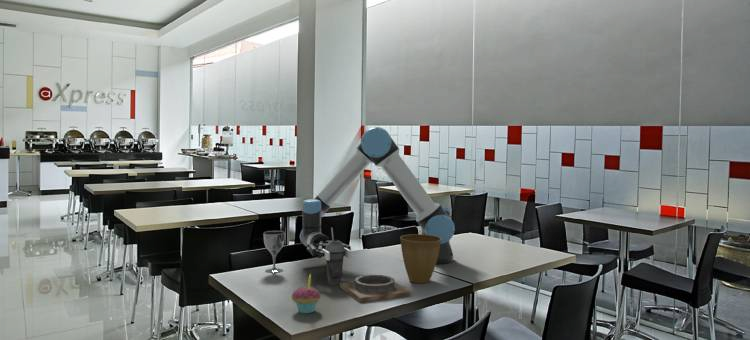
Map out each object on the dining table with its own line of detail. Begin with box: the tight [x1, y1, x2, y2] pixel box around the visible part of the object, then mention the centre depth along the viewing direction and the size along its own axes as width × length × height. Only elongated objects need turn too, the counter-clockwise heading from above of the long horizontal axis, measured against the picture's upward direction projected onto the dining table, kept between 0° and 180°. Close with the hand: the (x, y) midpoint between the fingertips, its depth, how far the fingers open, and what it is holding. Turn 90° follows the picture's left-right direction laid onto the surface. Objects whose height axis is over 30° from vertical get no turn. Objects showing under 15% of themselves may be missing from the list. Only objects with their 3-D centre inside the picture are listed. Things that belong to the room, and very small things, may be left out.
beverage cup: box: [325, 227, 345, 286], centre depth 186 cm, size 7×7×20 cm
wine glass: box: [263, 230, 286, 274], centre depth 203 cm, size 8×8×15 cm
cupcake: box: [291, 272, 321, 314], centre depth 156 cm, size 9×8×12 cm
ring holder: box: [339, 274, 411, 303], centre depth 177 cm, size 18×18×4 cm
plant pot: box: [399, 233, 441, 284], centre depth 190 cm, size 15×15×16 cm
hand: (339, 255), depth 182 cm, fingers closed on beverage cup, 7 cm apart
